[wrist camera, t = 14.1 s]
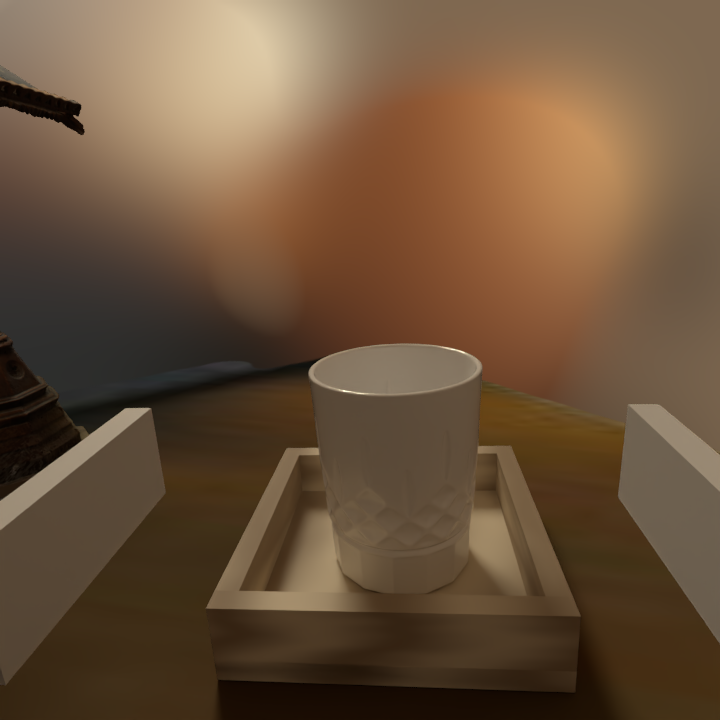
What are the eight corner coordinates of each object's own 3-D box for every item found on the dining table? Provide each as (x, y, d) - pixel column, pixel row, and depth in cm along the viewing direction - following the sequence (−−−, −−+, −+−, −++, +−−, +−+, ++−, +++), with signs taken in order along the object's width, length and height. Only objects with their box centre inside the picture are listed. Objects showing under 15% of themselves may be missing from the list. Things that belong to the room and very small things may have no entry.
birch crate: (217, 679, 21) (205, 608, 20) (291, 496, 35) (286, 448, 34) (575, 692, 20) (580, 616, 19) (509, 496, 33) (510, 445, 32)
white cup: (484, 615, 23) (486, 395, 20) (306, 600, 24) (286, 394, 21) (477, 512, 30) (479, 342, 27) (342, 506, 32) (330, 343, 29)
